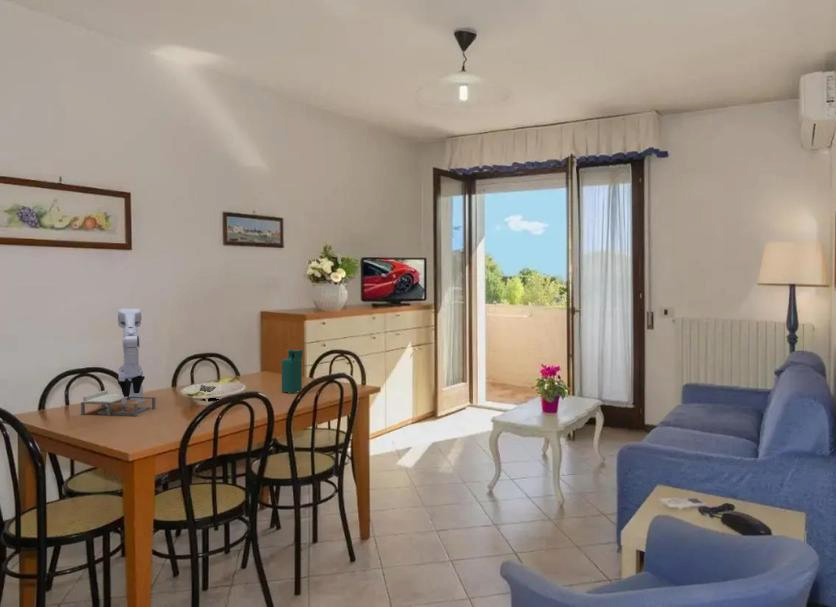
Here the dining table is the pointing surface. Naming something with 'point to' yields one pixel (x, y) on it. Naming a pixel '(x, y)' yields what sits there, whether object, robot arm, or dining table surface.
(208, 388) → the caster wheel
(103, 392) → the lid
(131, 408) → the brown round cylinder
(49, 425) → the dining table surface
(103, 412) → the grey base stand
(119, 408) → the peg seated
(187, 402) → the dining table surface
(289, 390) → the teal bottle
